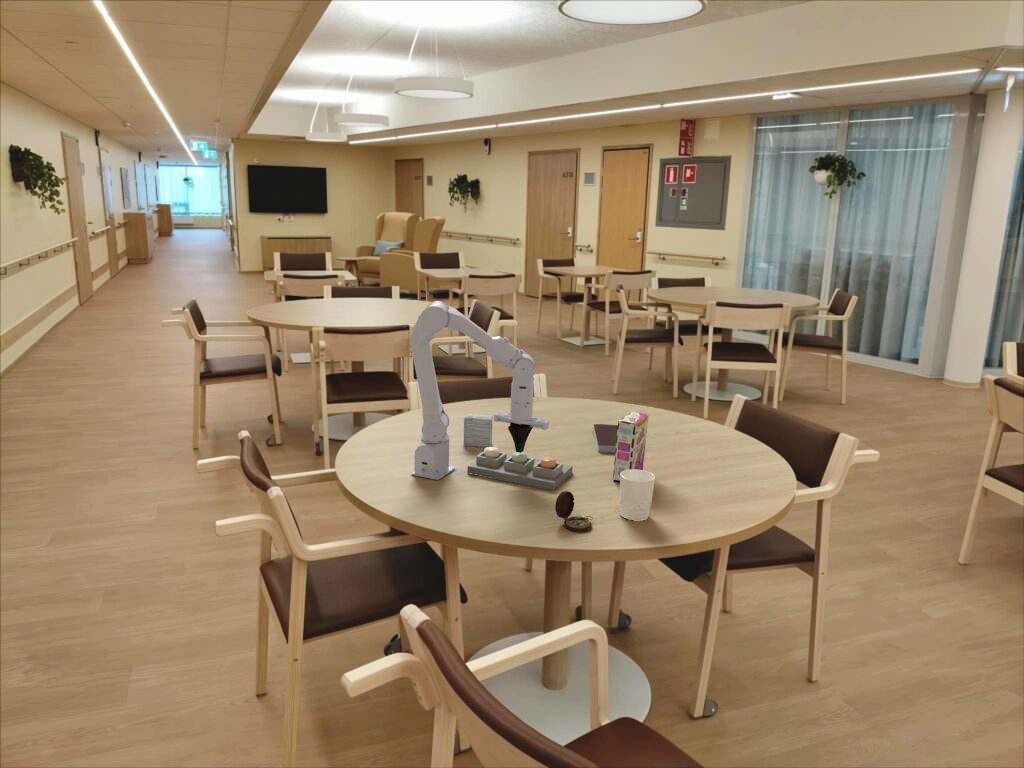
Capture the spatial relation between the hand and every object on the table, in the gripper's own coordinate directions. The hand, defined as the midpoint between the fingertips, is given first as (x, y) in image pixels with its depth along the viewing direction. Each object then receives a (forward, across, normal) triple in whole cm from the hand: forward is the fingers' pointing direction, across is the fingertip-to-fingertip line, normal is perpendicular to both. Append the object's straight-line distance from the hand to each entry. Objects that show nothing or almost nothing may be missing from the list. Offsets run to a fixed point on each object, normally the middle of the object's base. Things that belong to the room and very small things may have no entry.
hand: (519, 451), depth 195 cm
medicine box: (+7, +20, -16) cm, 26 cm away
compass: (+7, -24, +22) cm, 33 cm away
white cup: (+7, -34, +11) cm, 36 cm away
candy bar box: (+7, -26, -13) cm, 30 cm away
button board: (+6, 0, -1) cm, 6 cm away
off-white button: (+3, +8, 0) cm, 8 cm away
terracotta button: (+3, -8, 0) cm, 8 cm away
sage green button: (+3, 0, 0) cm, 3 cm away
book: (+7, -15, -39) cm, 42 cm away
